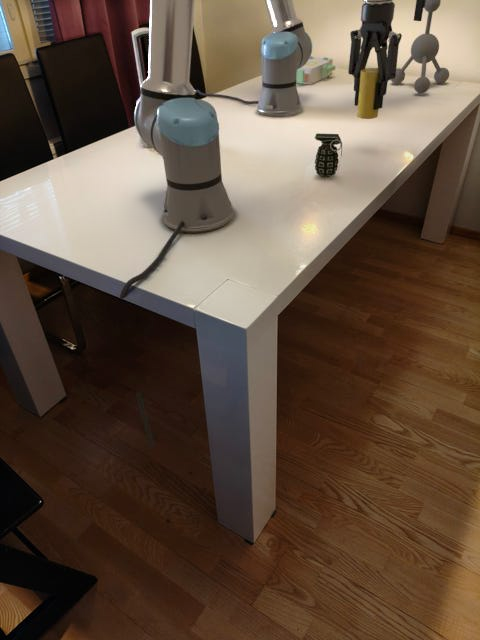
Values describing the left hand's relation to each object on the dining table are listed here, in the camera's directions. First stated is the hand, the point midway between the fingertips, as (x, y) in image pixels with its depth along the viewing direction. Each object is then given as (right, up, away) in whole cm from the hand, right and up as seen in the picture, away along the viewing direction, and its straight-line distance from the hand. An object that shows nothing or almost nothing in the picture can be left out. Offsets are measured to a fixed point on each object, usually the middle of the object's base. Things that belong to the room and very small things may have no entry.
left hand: (368, 106), depth 128 cm
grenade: (-12, -20, -6) cm, 24 cm away
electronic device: (-58, -1, +22) cm, 62 cm away
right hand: (+17, +37, +25) cm, 48 cm away
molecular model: (+37, +34, +60) cm, 78 cm away
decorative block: (-6, +47, +80) cm, 93 cm away
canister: (0, -2, +2) cm, 2 cm away
